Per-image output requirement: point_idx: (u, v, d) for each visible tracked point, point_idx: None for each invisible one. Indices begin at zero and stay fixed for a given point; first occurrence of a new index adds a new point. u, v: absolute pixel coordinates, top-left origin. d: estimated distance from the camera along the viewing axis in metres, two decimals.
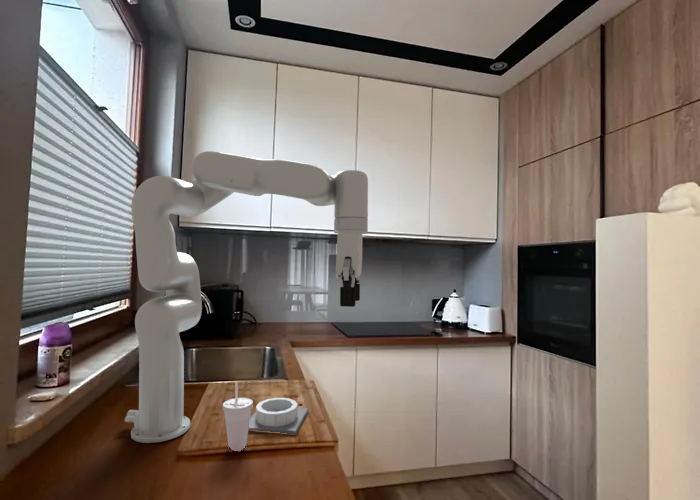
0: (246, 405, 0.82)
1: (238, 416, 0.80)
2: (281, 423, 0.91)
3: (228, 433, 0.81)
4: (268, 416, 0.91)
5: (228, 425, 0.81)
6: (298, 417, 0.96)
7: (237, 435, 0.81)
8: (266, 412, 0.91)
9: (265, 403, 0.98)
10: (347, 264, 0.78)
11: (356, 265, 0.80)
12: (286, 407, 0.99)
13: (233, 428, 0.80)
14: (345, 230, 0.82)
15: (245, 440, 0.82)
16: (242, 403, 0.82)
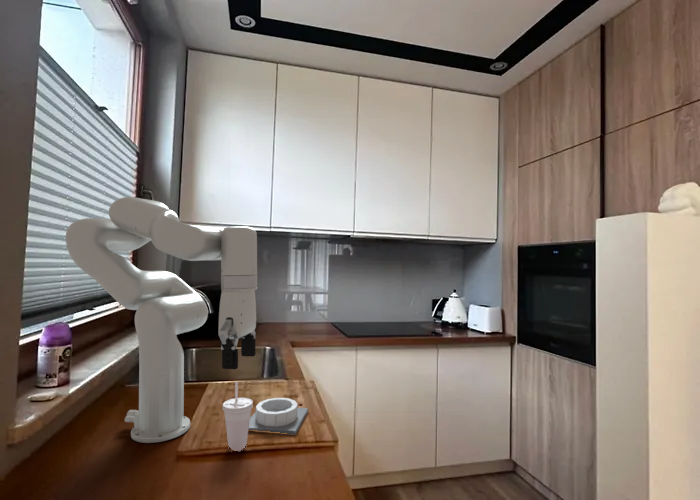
0: (246, 405, 0.82)
1: (238, 416, 0.80)
2: (281, 423, 0.91)
3: (228, 433, 0.81)
4: (268, 416, 0.91)
5: (228, 425, 0.81)
6: (298, 417, 0.96)
7: (237, 435, 0.81)
8: (266, 412, 0.91)
9: (265, 403, 0.98)
10: (225, 327, 0.75)
11: (238, 326, 0.78)
12: (286, 407, 0.99)
13: (233, 428, 0.80)
14: (228, 289, 0.79)
15: (245, 440, 0.82)
16: (242, 403, 0.82)
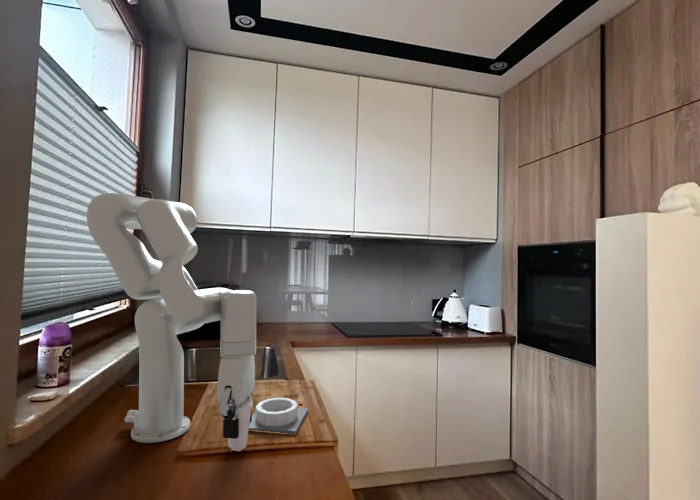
0: (246, 405, 0.82)
1: (238, 416, 0.80)
2: (281, 423, 0.91)
3: None
4: (268, 416, 0.91)
5: None
6: (298, 417, 0.96)
7: None
8: (266, 412, 0.91)
9: (265, 403, 0.98)
10: (225, 402, 0.76)
11: (236, 394, 0.78)
12: (286, 407, 0.99)
13: None
14: (227, 356, 0.79)
15: (245, 440, 0.82)
16: (242, 403, 0.82)
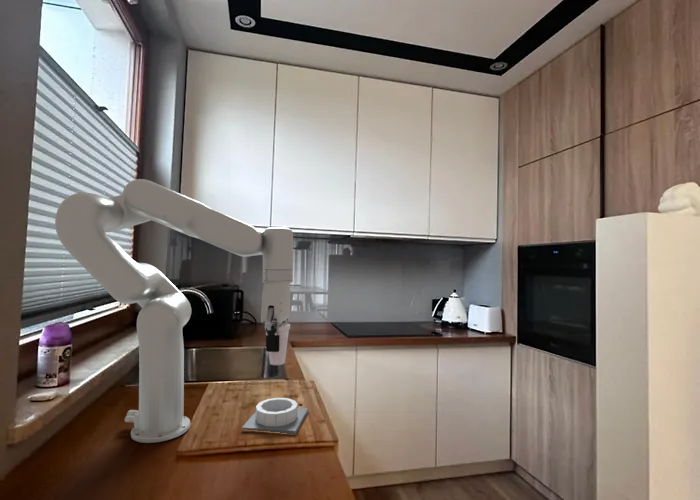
0: (285, 325, 0.95)
1: (279, 333, 0.93)
2: (281, 423, 0.91)
3: None
4: (268, 416, 0.91)
5: None
6: (298, 417, 0.96)
7: None
8: (266, 412, 0.91)
9: (265, 403, 0.98)
10: (269, 318, 0.89)
11: (278, 313, 0.91)
12: (286, 407, 0.99)
13: None
14: (270, 281, 0.92)
15: (284, 356, 0.95)
16: (281, 324, 0.95)
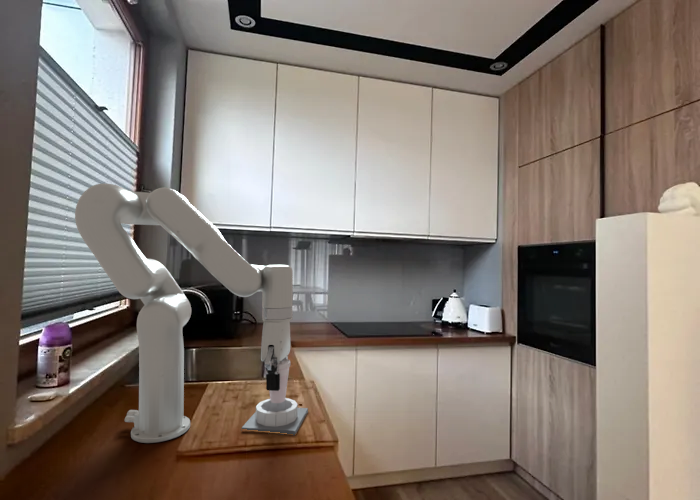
0: (285, 363, 0.94)
1: (279, 372, 0.93)
2: (281, 423, 0.91)
3: None
4: (268, 416, 0.91)
5: None
6: (298, 417, 0.96)
7: None
8: (266, 412, 0.91)
9: (265, 403, 0.98)
10: (269, 358, 0.89)
11: (278, 352, 0.91)
12: (286, 407, 0.99)
13: None
14: (269, 320, 0.92)
15: (284, 393, 0.95)
16: (282, 362, 0.95)
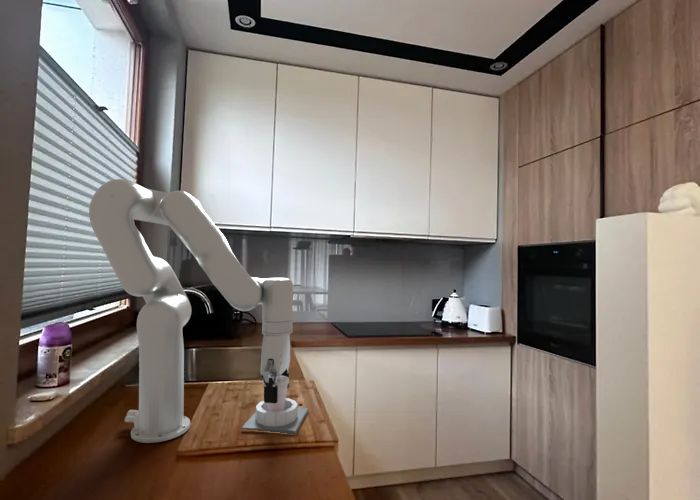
0: (284, 380, 0.94)
1: (278, 389, 0.93)
2: (281, 423, 0.91)
3: (268, 405, 0.94)
4: (268, 416, 0.91)
5: None
6: (298, 417, 0.96)
7: (277, 406, 0.93)
8: (266, 412, 0.91)
9: (265, 403, 0.98)
10: (268, 368, 0.88)
11: (278, 366, 0.91)
12: (286, 407, 0.99)
13: None
14: (269, 333, 0.92)
15: None
16: (280, 379, 0.95)
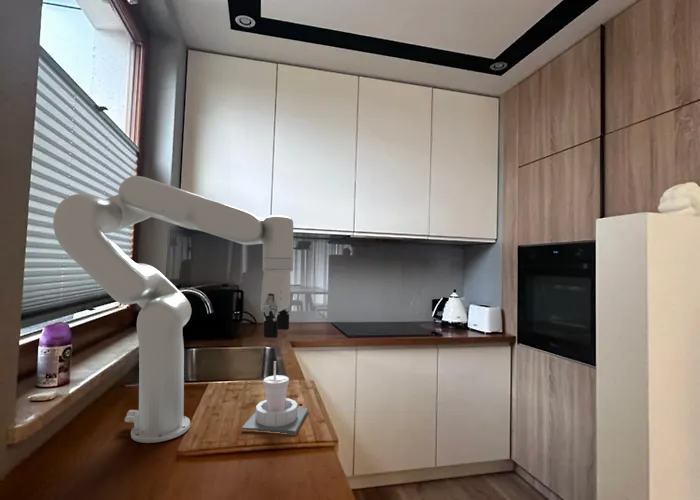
0: (284, 381, 0.94)
1: (278, 390, 0.93)
2: (281, 423, 0.91)
3: (268, 405, 0.94)
4: (268, 416, 0.91)
5: (268, 397, 0.93)
6: (298, 417, 0.96)
7: (277, 406, 0.93)
8: (266, 412, 0.91)
9: (265, 403, 0.98)
10: (268, 301, 0.88)
11: (278, 301, 0.91)
12: (286, 407, 0.99)
13: (273, 400, 0.93)
14: (270, 269, 0.92)
15: None
16: (280, 379, 0.95)
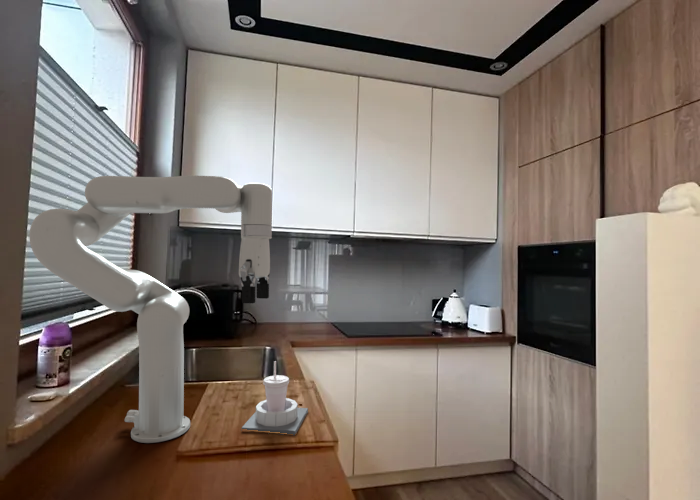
0: (284, 381, 0.94)
1: (278, 389, 0.93)
2: (281, 423, 0.91)
3: (268, 405, 0.94)
4: (268, 416, 0.91)
5: (268, 397, 0.93)
6: (298, 417, 0.96)
7: (277, 406, 0.93)
8: (266, 412, 0.91)
9: (265, 403, 0.98)
10: (245, 266, 0.89)
11: (256, 267, 0.91)
12: (286, 407, 0.99)
13: (273, 400, 0.93)
14: (248, 236, 0.93)
15: None
16: (280, 379, 0.95)
